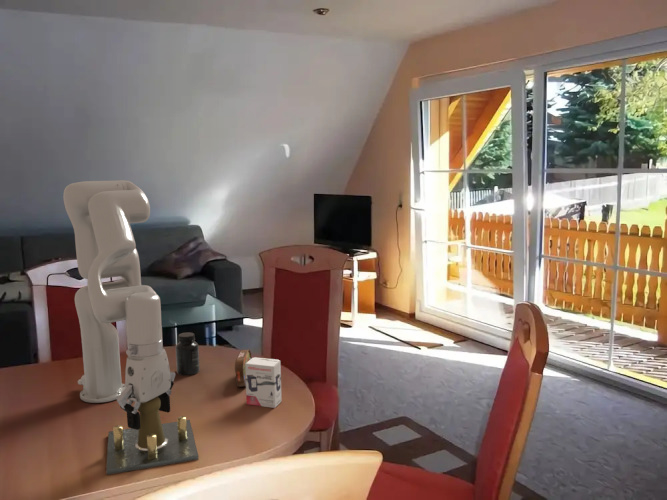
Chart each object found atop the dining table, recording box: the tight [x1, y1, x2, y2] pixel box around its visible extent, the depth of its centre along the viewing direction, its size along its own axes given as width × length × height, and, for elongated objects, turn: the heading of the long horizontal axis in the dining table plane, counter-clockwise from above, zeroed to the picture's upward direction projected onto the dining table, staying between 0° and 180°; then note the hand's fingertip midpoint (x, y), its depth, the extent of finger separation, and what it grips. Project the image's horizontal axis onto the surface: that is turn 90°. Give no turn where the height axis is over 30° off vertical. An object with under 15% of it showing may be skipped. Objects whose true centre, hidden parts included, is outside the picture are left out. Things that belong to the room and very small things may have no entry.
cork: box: [137, 396, 165, 449], centre depth 138 cm, size 6×6×11 cm
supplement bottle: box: [175, 332, 200, 377], centre depth 186 cm, size 7×7×12 cm
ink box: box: [245, 356, 282, 409], centre depth 162 cm, size 8×5×12 cm, turn 73°
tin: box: [234, 349, 253, 388], centre depth 178 cm, size 15×3×8 cm, turn 179°
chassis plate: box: [105, 415, 199, 476], centre depth 139 cm, size 19×19×6 cm
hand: (149, 419), depth 138 cm, fingers open, 9 cm apart
